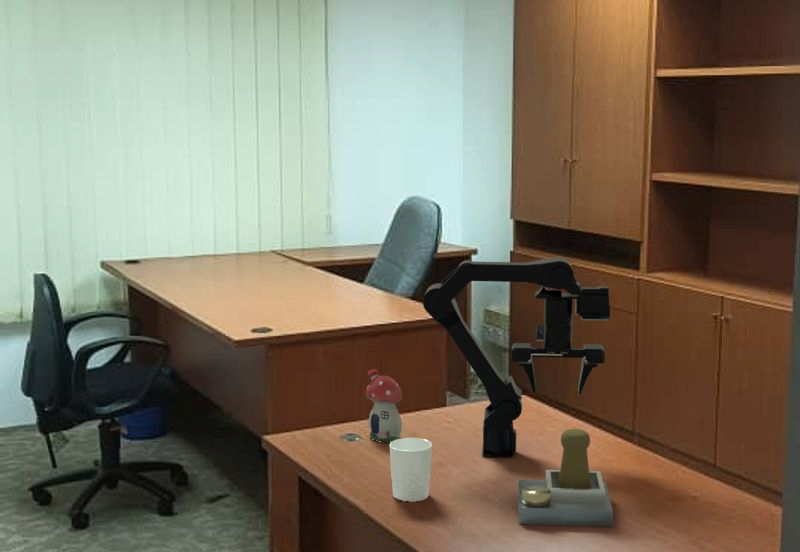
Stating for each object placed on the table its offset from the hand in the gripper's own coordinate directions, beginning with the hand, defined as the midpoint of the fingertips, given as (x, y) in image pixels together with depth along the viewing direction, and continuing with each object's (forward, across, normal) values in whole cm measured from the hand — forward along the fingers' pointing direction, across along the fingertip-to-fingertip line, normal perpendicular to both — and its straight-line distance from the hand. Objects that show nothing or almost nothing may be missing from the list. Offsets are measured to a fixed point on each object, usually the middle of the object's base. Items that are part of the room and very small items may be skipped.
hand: (556, 393), depth 219 cm
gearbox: (+13, 0, +31) cm, 34 cm away
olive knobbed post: (+10, -2, +29) cm, 31 cm away
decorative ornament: (+13, +37, -8) cm, 40 cm away
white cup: (+13, +28, +26) cm, 40 cm away
